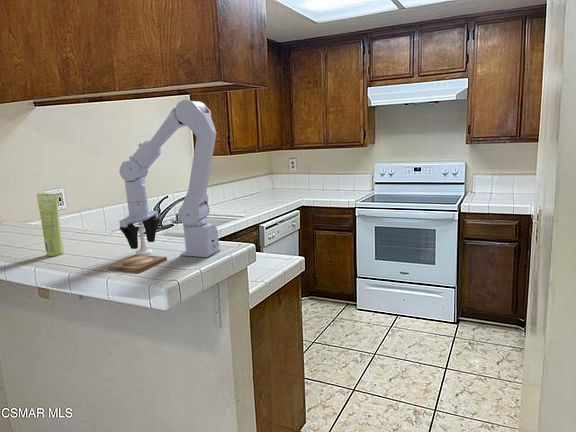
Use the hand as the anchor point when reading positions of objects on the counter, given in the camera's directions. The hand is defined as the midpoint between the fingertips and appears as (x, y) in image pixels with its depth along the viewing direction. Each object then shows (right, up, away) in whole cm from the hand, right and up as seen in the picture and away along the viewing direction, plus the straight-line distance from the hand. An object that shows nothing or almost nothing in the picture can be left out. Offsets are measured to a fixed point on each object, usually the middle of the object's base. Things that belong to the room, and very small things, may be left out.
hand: (142, 245), depth 133 cm
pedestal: (+2, -5, -11) cm, 12 cm away
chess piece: (0, -3, +1) cm, 3 cm away
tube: (-29, -4, +5) cm, 30 cm away
